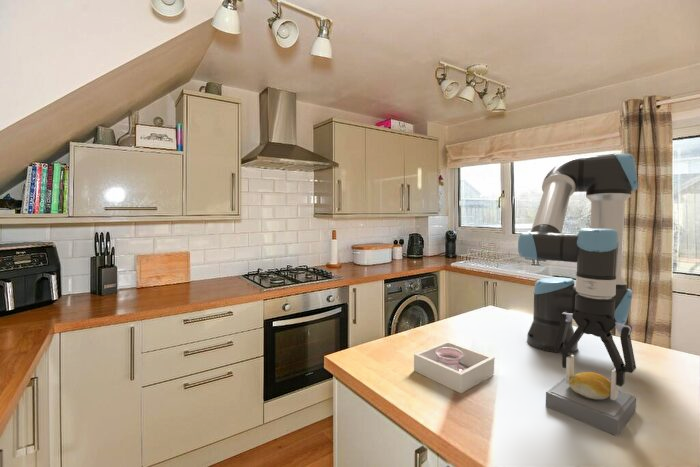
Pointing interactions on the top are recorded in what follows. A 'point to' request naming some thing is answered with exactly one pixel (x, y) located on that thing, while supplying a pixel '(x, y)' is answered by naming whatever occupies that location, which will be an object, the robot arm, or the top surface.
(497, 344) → the top surface
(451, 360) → the teacup
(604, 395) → the bread roll
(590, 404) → the grey square block
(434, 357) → the white open box
